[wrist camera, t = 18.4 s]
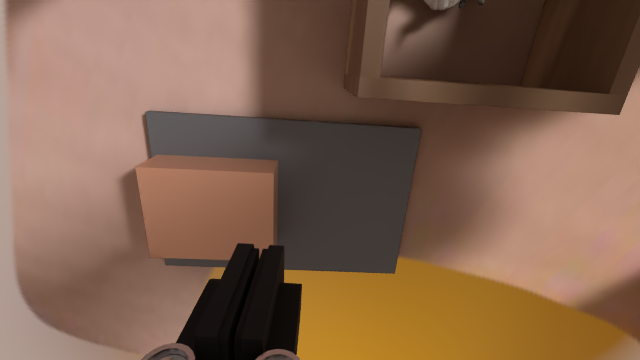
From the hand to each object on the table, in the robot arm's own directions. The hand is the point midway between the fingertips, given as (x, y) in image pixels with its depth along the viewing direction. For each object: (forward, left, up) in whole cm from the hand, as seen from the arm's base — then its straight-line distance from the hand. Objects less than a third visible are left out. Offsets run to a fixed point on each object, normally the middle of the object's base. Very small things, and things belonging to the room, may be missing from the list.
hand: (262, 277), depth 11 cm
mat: (0, +3, -14) cm, 14 cm away
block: (+1, +3, -12) cm, 12 cm away
